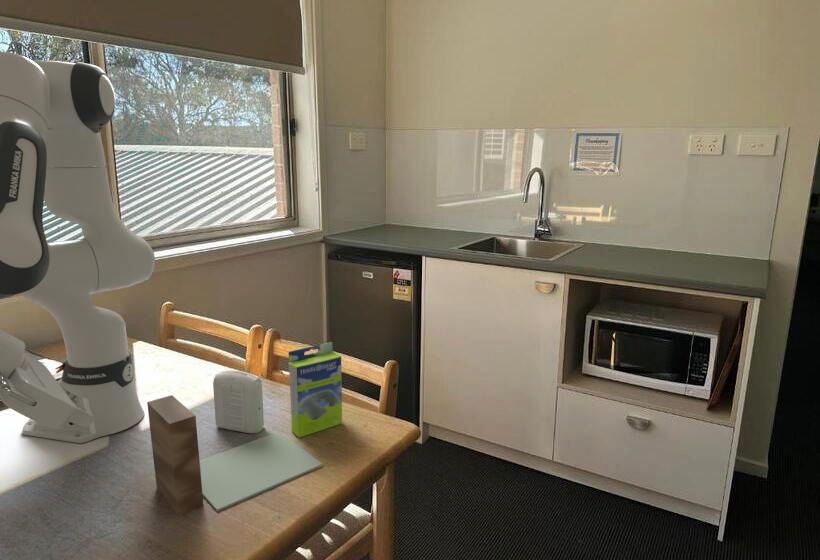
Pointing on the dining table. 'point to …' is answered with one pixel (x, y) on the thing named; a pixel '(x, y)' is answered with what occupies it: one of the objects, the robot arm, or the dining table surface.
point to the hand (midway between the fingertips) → (82, 411)
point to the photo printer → (238, 401)
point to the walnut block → (175, 454)
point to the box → (315, 389)
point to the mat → (252, 469)
